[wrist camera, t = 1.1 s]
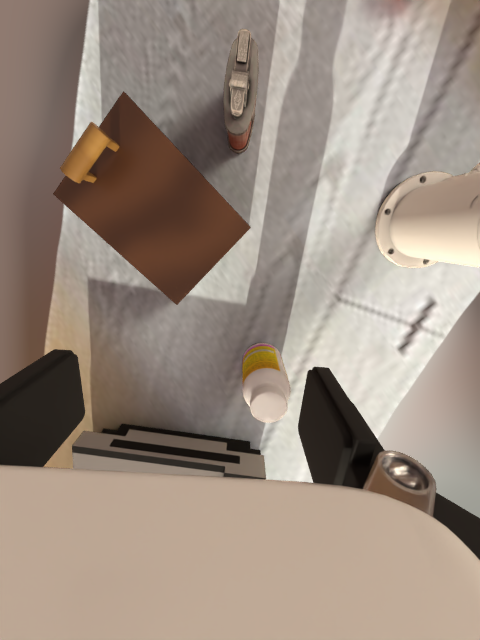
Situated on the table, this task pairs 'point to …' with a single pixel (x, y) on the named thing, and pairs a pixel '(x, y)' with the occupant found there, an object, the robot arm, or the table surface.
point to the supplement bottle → (265, 382)
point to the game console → (166, 453)
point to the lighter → (241, 91)
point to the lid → (148, 200)
